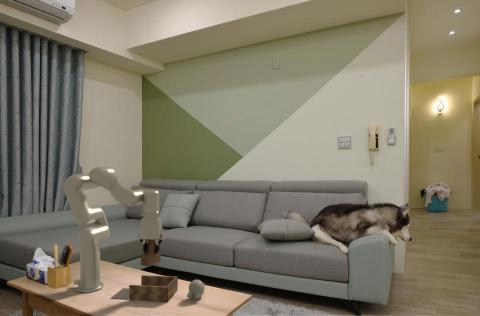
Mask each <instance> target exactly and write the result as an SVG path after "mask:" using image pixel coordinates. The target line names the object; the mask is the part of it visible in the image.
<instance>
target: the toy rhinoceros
mask: <svg viewBox="0 0 480 316" xmlns="http://www.w3.org/2000/svg"><path fill="white" fill-rule="evenodd" d="M205 286H206V283H205V282H203V281H201V280H200V279H194V280H192V281H191V282H190V284H189V285H188V293H187V295H186V297H187V298H188V299H196V300H202V298H203V297H202V295H203V294H204V291H205V289H206V287H205Z"/></svg>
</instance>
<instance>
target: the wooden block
mask: <svg viewBox="0 0 480 316" xmlns="http://www.w3.org/2000/svg"><path fill="white" fill-rule="evenodd" d="M159 239H160V240H161V238H159ZM147 243H148V248H147V252H146V253H144V254H142V255H141V256H140V266H144V267H149V266H152V265H154V264H157V263H160V262H161V259H162V258H161V255H162V254H161V249H160V250H159V252H158V253H157V254H155V245H156V242H155V240H147Z"/></svg>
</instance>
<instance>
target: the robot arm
mask: <svg viewBox="0 0 480 316" xmlns="http://www.w3.org/2000/svg"><path fill="white" fill-rule="evenodd" d="M122 184H123V179H122V177H119V176H118V175H117V173H116V170H114V168H112V167H110V166H99V167H98V166H97V167H96V166H95V167H93V168H91V170H90V171H89V172H88V173H77V174H72V175H69V177H68V178H66V179H65V182H64V184H63V192H64V195H65V197H66V199H67V201H68V202H69V206H70V209H71V212H72V215H73V218H74V222H75V223H76V225H77V226H80V227H84V226H85V228H84V229H82V230H81V231H79V233H78V235H77V243H78V247H79V272H80V273H79V275H80V277H79V278H76V279H75V280H74V282H73V285H77V287H76V292H78V293H82V294H83V293H88V294H89V293H93V292H97V291H99V290H101V289H102V288H104V282H103V281H101V251H100V248H99V246H98V244H100V243H103V242H105V241H107V240H108V239H109V238H110V235H111V230H110V226H109V222H108V220H107V217H106V214H105V211H104V210H103V209H102V207H100V206H99V205H91V206H90V203H89V200H88V198H87V196H86V195H85V193H83V192H82V190H83V191H84V190H93V189H97V188H99V187H101V188H103V189H105V190H106V191H107V192H109V193H110V195H111V197H113V199H114V200H115V201H117V202H119V203H120V204H122V205H124V206H126V207H136V206H139V205H143V212H141V213H140V217H141V216H142V218H141V219H140V227H139V233H138V235H136V239H137V240H138V241H140V243H141V244H142V252H143V253H144V254H145V253H146V252H147V248H148V240H155V242H156V245H155V254H157V253H158V252H159V250H160V251H161V243H162V242H163V241H164V240H166V239H167V236H166V235H165V233H163V225H162V218H161V217H160V192H159V190H155V189H150V190H148V189H143V188H140V189H133V190H129V189H128V188H126V187H124V186H122ZM89 225H91V226H89ZM86 226H89V227H86ZM159 238H160V239H159Z"/></svg>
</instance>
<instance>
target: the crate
mask: <svg viewBox="0 0 480 316" xmlns="http://www.w3.org/2000/svg"><path fill="white" fill-rule="evenodd" d="M140 279H141V280H140V281H141V283H140V285H139V284H138V285H137V284H129V286H128V288H129V299H128V301H130V302H131V301H132V302H151V303H152V302H153V303H169V302H170V300H171V299H172V298H173V297H174V295H175V294H176V293H177V292H178V291H179V290H178V289H179V286H178V285H179V284H178V283H179V282H178V279H179V277H178V276H175V275H174V276H171V275H147V274H145V275H144V274H142V275H141V276H140Z"/></svg>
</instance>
